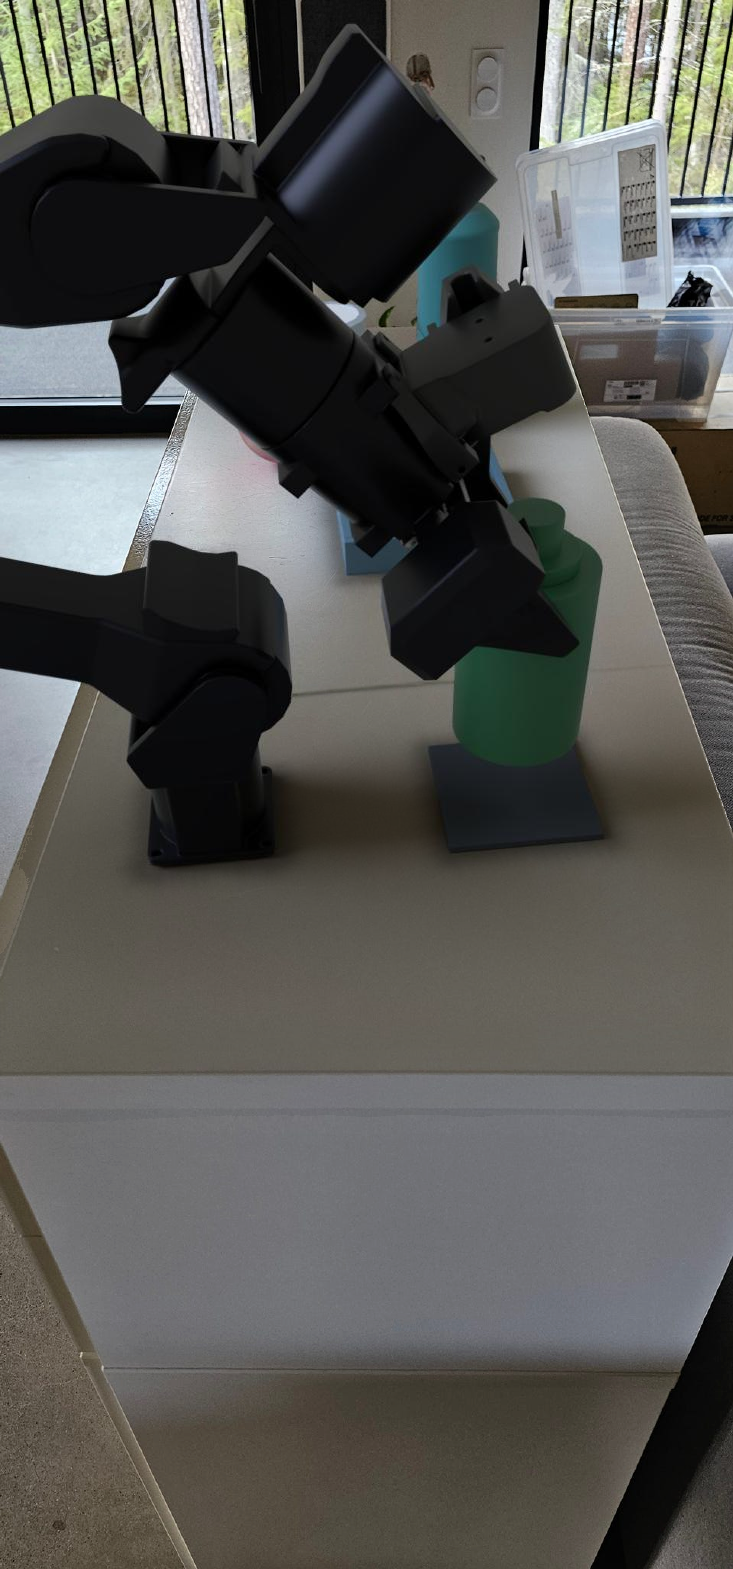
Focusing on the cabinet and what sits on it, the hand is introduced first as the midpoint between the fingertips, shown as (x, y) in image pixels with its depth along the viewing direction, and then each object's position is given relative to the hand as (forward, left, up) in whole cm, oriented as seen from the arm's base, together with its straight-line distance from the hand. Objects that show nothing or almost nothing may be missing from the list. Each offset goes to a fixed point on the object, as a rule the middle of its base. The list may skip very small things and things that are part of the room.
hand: (555, 607), depth 51 cm
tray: (+29, +2, -12) cm, 31 cm away
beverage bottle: (+46, -3, -12) cm, 48 cm away
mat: (0, +1, -12) cm, 12 cm away
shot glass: (+53, +7, -12) cm, 55 cm away
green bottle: (0, +1, -7) cm, 7 cm away
